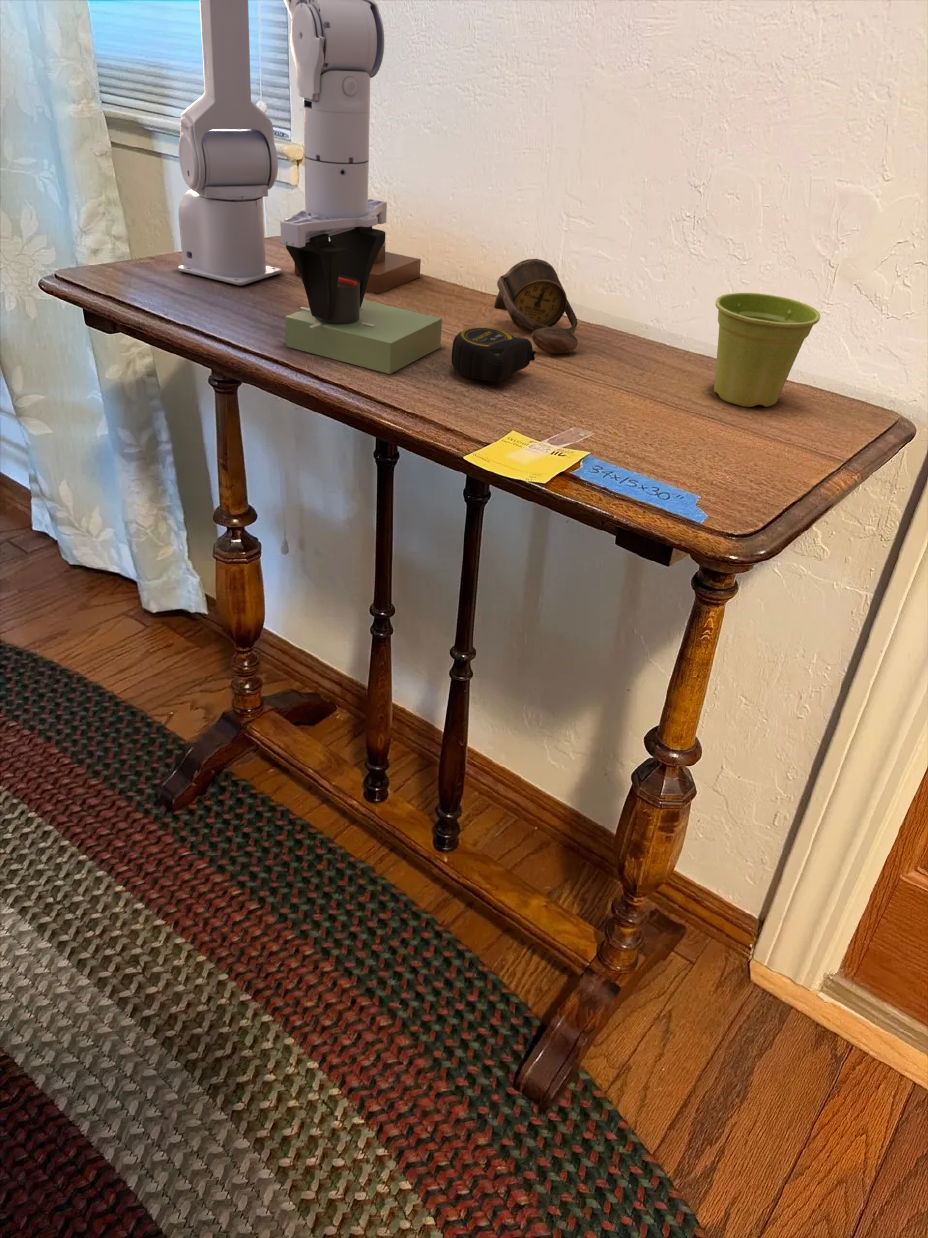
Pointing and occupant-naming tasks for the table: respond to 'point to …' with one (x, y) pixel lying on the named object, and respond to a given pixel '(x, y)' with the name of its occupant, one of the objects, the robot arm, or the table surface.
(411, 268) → the button block
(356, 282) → the dial knob
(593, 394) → the table surface
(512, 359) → the tape measure
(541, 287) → the antique clock
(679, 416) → the table surface
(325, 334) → the dial panel
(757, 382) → the plant pot
